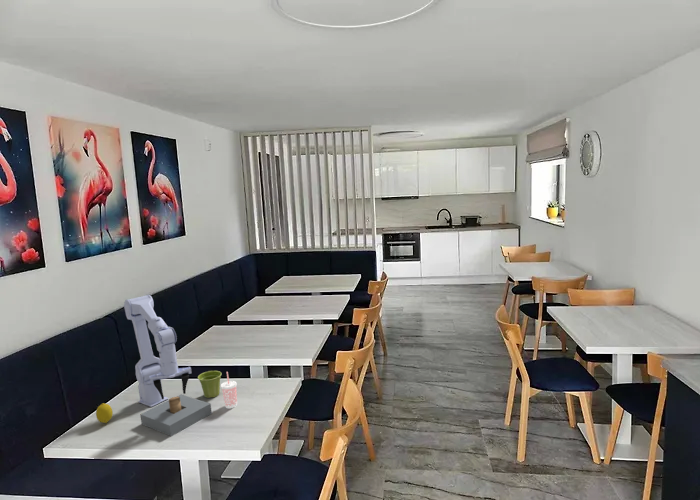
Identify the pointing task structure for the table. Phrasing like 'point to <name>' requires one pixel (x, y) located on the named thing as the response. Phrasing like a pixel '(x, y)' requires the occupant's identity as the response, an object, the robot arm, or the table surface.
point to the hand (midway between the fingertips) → (173, 395)
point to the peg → (175, 404)
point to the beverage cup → (229, 393)
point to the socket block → (176, 415)
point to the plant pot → (210, 383)
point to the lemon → (104, 413)
